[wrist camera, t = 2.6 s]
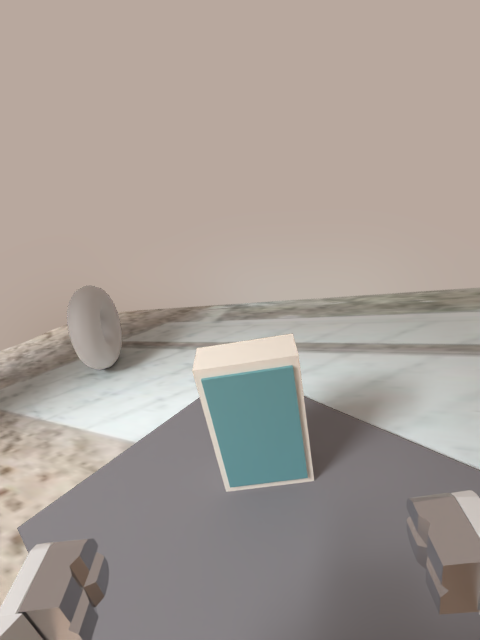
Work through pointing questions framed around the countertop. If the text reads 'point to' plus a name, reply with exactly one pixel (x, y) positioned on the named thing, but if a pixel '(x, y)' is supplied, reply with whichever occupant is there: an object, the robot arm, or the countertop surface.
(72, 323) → the donut
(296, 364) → the card box
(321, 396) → the countertop surface
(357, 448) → the mat
